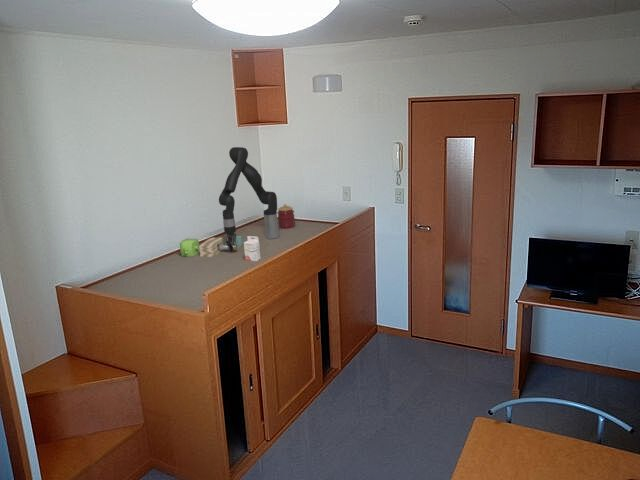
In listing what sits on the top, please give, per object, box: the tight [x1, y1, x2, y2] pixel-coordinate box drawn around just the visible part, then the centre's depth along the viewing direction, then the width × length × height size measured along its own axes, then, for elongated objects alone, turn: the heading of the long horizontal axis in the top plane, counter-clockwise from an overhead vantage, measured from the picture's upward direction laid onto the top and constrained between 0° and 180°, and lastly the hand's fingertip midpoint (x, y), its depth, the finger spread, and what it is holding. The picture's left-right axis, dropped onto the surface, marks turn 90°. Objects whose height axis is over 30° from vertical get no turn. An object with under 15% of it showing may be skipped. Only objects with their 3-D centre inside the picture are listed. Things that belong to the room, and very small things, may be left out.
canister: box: [277, 204, 296, 229], centre depth 413 cm, size 13×13×18 cm
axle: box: [217, 244, 238, 251], centre depth 355 cm, size 18×4×4 cm, turn 79°
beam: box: [199, 237, 225, 258], centre depth 356 cm, size 9×20×8 cm, turn 170°
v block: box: [224, 235, 244, 250], centre depth 367 cm, size 8×13×6 cm, turn 170°
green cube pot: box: [179, 238, 201, 257], centre depth 354 cm, size 18×10×10 cm, turn 168°
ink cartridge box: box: [243, 235, 261, 262], centre depth 332 cm, size 9×5×15 cm, turn 65°
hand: (232, 250), depth 354 cm, fingers closed on axle, 3 cm apart
